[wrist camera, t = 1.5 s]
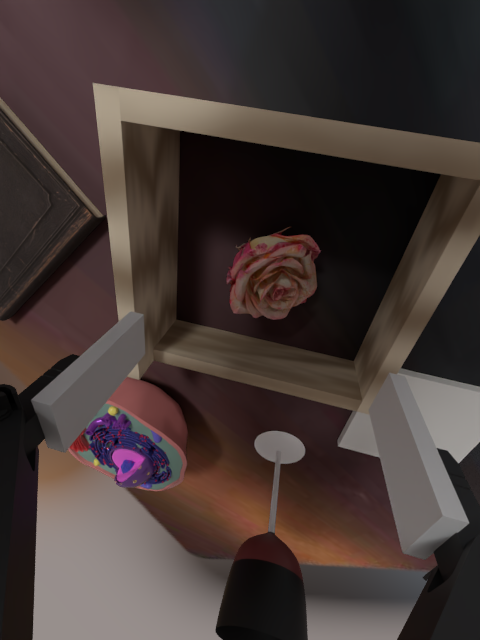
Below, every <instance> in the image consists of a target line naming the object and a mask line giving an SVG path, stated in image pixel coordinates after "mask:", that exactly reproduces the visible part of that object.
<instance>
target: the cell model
mask: <svg viewBox="0 0 480 640" xmlns="http://www.w3.org/2000/svg"><path fill="white" fill-rule="evenodd" d="M187 438H188V429H187V424H186V421H185V418H184V415H183V412H182V410H181V407H180V405H179V404H178V403H177V401H175V400H174V399H173V398H172V397H170V396H169V395H168V394H167V393H165V392H164V391H163V390H162V389H160V388H159V387H157V386H156V385H154V384H151V383H149V382H146V381H143V380H137V379H133V378H129V377H126V378H125V379H124V381H123V382H122V383H121V384H120V386H119V387H118V388H117V389H116V391H115V392H114V393H113V394H112V395H111V397H110V398H109V399H108V400H107V402H106V403H105V404H104V405H103V407H102V408H101V409H100V410H99V411H98V413H97V414H96V415H95V416H94V418H93V419H92V420H91V421H90V423H89V424H88V425H87V426H86V428H85V429H84V430H83V431H82V432H81V434H80V435H79V436H78V437H77V439H76V440H75V441H74V442H73V444H72V445H71V446H70V447H69V448H68V450H69V452H70V453H71V454H72V455H73V456H74V457H75V458H76V459H77V460H79V461H80V462H81V463H83V464H85V465H87V466H89V467H91V468H93V469H96V470H97V471H99V472H101V473H103V474H105V475H107V476H110V477H111V478H113V479H114V481H115V482H116V484H117V485H118V486H120V487H125V488H129V487H135V488H139V489H143V490H149V491H164V490H167V489H170V488H172V487H174V486H176V485H178V484H180V483H181V482H182V481H183V479H184V472H185V469H186V467H187V454H186V449H187Z"/></svg>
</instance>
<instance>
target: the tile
mask: <svg viewBox="0 0 480 640" xmlns="http://www.w3.org/2000/svg"><path fill="white" fill-rule="evenodd" d="M397 375H401V376H405V378H406V380H407V382H408V384H409V387H410V389H411V391H412V393H413V396H414V398H415V400H416V403H417V405H418V407H419V409H420V412H421V414H422V416H423V419H424V421H425V423H426V425H427V428H428V430H429V432H430V434H431V437H432V439H433V441H434V444H435V446H436V448H439V449H443V450H447V451H448V452H449V453H450V454H451V455H452V456H453V458H454V459H455V460H456V461H457V462H458V463H459V462H460V461H461V460H462V459H463V458H464V457H465V456H466V455H467V454H468V453H469V452H470V451H471V450H472V449H473V448H474V447H475V446H476V445H477V444H478V443H479V442H480V387H478V386H474V385H470V384H466V383H461V382H457V381H453V380H448V379H444V378H440V377H436V376H431V375H427V374H423V373H418V372H414V371H410V370H406V369H401V368H400V370H399V372H398V373H397ZM337 441H338V447H342V448H346V449H349V450H353V451H357V452H361V453H365V454H368V455H372V456H376V457H380V456H379V452H378V448H377V444H376V439H375V435H374V431H373V427H372V423H371V418H370V415H369V414H365V413H361V412H357V411H353V412H352V413H351V415H350V417H349V419H348V421H347V423H346V425H345V427H344V429H343V430H342V432H341V434H340V436H339V438H338V440H337Z"/></svg>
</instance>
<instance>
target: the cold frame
mask: <svg viewBox="0 0 480 640" xmlns="http://www.w3.org/2000/svg"><path fill="white" fill-rule="evenodd" d="M93 89H94V98H95V107H96V117H97V126H98V135H99V144H100V153H101V162H102V172H103V181H104V190H105V199H106V208H107V218H108V227H109V236H110V245H111V254H112V263H113V273H114V282H115V291H116V300H117V309H118V319H119V321H120V320H121V319H122V318H124V317H125V316H126V315H127V314H128V313H129V312H130V311H131V312H136V313H140V314H144V334H145V355H144V356H143V357H142V358H141V360H140V361H139V362H138V363H137V365H136V366H135V367H134V368H133V370H132V371H131V372H130V373H129V374H128V376H127V377H129V378H133V379H137V380H140V379H141V377H142V376H143V374H144V373H145V372H146V370H147V369H148V368H149V366H150V365H151V363H152V362H153V361H158V362H162V363H166V364H170V365H174V366H178V367H182V368H186V369H190V370H194V371H198V372H202V373H206V374H210V375H214V376H218V377H221V378H225V379H229V380H233V381H237V382H241V383H245V384H249V385H253V386H257V387H261V388H265V389H269V390H273V391H277V392H281V393H285V394H289V395H293V396H297V397H301V398H305V399H309V400H313V401H317V402H321V403H325V404H329V405H333V406H337V407H341V408H345V409H349V410H353V411H357V412H361V413H365V414H369V408H370V406H371V404H372V403H373V401H374V399H375V397H376V396H377V394H378V392H379V390H380V388H381V387H382V385H383V383H384V381H385V379H386V378H387V376H388V374H389V373H393V374H397V373H398V372H399V370H400V368H401V367H402V365H403V363H404V361H405V360H406V358H407V356H408V355H409V353H410V351H411V350H412V348H413V346H414V345H415V343H416V341H417V340H418V338H419V336H420V335H421V333H422V331H423V330H424V328H425V326H426V324H427V323H428V321H429V319H430V318H431V316H432V314H433V313H434V311H435V309H436V308H437V306H438V304H439V303H440V301H441V299H442V298H443V296H444V294H445V292H446V291H447V289H448V287H449V286H450V284H451V282H452V281H453V279H454V277H455V276H456V274H457V272H458V271H459V269H460V267H461V266H462V264H463V262H464V261H465V259H466V257H467V255H468V254H469V252H470V250H471V249H472V247H473V245H474V244H475V242H476V240H477V239H478V237H479V235H480V143H477V142H470V141H464V140H457V139H451V138H444V137H438V136H431V135H425V134H419V133H412V132H406V131H399V130H393V129H386V128H380V127H373V126H367V125H360V124H354V123H347V122H341V121H335V120H328V119H322V118H315V117H309V116H302V115H296V114H289V113H283V112H276V111H270V110H264V109H257V108H251V107H244V106H238V105H231V104H225V103H218V102H212V101H205V100H199V99H192V98H186V97H180V96H173V95H167V94H160V93H154V92H147V91H141V90H134V89H128V88H121V87H115V86H108V85H102V84H96V83H93ZM180 131H186V132H192V133H198V134H204V135H210V136H216V137H222V138H228V139H234V140H240V141H246V142H252V143H258V144H264V145H270V146H276V147H282V148H288V149H294V150H300V151H306V152H312V153H318V154H324V155H330V156H336V157H342V158H348V159H354V160H360V161H366V162H372V163H378V164H384V165H390V166H396V167H402V168H408V169H414V170H420V171H426V172H432V173H438V174H441V176H440V178H439V180H438V182H437V184H436V186H435V188H434V191H433V193H432V195H431V197H430V199H429V201H428V203H427V205H426V208H425V210H424V212H423V214H422V216H421V218H420V220H419V223H418V225H417V227H416V229H415V231H414V233H413V235H412V238H411V240H410V242H409V244H408V246H407V248H406V250H405V253H404V255H403V257H402V259H401V261H400V263H399V265H398V268H397V270H396V272H395V274H394V276H393V278H392V280H391V283H390V285H389V287H388V289H387V291H386V293H385V295H384V298H383V300H382V302H381V304H380V306H379V308H378V310H377V313H376V315H375V317H374V319H373V321H372V323H371V325H370V328H369V330H368V332H367V334H366V336H365V338H364V340H363V343H362V345H361V347H360V349H359V351H358V353H357V355H356V357H355V360H354V361H351V360H347V359H342V358H338V357H334V356H330V355H325V354H321V353H317V352H313V351H308V350H304V349H300V348H296V347H291V346H287V345H283V344H279V343H274V342H270V341H266V340H262V339H257V338H253V337H249V336H245V335H240V334H236V333H232V332H228V331H223V330H219V329H215V328H210V327H206V326H202V325H198V324H193V323H189V322H185V321H181V320H176V308H177V261H178V215H179V168H180ZM369 415H370V414H369Z"/></svg>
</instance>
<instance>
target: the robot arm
mask: <svg viewBox="0 0 480 640" xmlns="http://www.w3.org/2000/svg"><path fill="white" fill-rule="evenodd" d="M144 355H145V334H144V314H140V313H136V312H131V311H130V312H129V313H128V314H127V315H126V316H125V317H124V318H122V319H121V320H120V321H119V322H118V323H117V324H116V325H115V326H113V327H112V328H111V329H110V330H109V331H108V332H107V333H106V334H105V335H103V336H102V337H101V338H100V339H99V340H98V341H97V342H96V343H94V344H93V345H92V346H91V347H90V348H89V349H88V350H87V351H85V352H84V353H83V354H82V355H81V356H77V355H74V354H72V355H70V356H68V357H66V358H63V359H61V360H60V361H59V362H57V363H56V364H55V365H54V366H53V367H51V369H49V370H48V371H47V372H45V373H44V375H43V376H41V377H39V378H38V379H37V380H36V381H35V382H33V383H32V384H31V385H30V386H29V387H27V388H26V389H25V390H24V391H23V392H21V393H20V394H19V395H18V394H17V392H16V389H15V388H14V387H12V386H10V385H5V384H2V385H0V640H32V638H33V609H34V578H35V577H34V576H35V550H36V521H37V491H38V490H37V489H38V462H39V450H38V445H39V444H40V443H41V442H42V441H43V440H44V439H45V441H46V444H47V447H48V448H51V449H55V450H58V451H61V452H66V451H67V450H68V448H69V447H70V446H71V445H72V444H73V442H74V441H75V440H76V439H77V437H78V436H79V435H80V434H81V432H82V431H83V430H84V429H85V428H86V426H87V425H88V424H89V423H90V421H91V420H92V419H93V418H94V416H95V415H96V414H97V413H98V411H99V410H100V409H101V408H102V407H103V405H104V404H105V403H106V402H107V400H108V399H109V398H110V397H111V395H112V394H113V393H114V392H115V391H116V389H117V388H118V387H119V386H120V384H121V383H122V382H123V381H124V379H125V378H126V377H127V376H128V374H129V373H130V372H131V371H132V370H133V368H134V367H135V366H136V365H137V363H138V362H139V361H140V360H141V358H142V357H143V356H144ZM369 414H370V418H371V423H372V427H373V431H374V435H375V439H376V444H377V448H378V452H379V456H380V460H381V464H382V469H383V473H384V477H385V481H386V485H387V490H388V494H389V498H390V502H391V506H392V510H393V515H394V519H395V523H396V527H397V531H398V536H399V540H400V544H401V548H402V552H403V553H404V554H408V555H411V556H414V557H418V558H421V559H424V560H425V559H427V558H428V557H429V556H430V555H431V554H433V553H434V554H435V558H436V561H437V564H438V566H436V567H435V568H434V569H432V570H431V571H430V572H428V573H427V574H426V575H425V576H424V577H423V578H424V579H425V580H427V579H428V581H427V583H426V585H425V587H424V589H423V590H422V593H421V594H420V596H419V598H418V600H417V602H416V604H415V606H414V608H413V610H412V612H411V614H410V616H409V618H408V620H407V622H406V623H405V626H404V627H403V629H402V631H401V633H400V635H399V637H398V639H397V640H480V506H479V504H478V502H477V500H476V498H475V496H474V494H473V492H472V491H471V490H470V489H471V488H470V486H469V484H468V482H467V480H465V476H464V474H463V472H462V470H461V468H460V465H459V464H458V462H457V461H456V460H455V459H454V458H453V456H452V455H451V454H450V453H449V452H448V451H447V450H443V449H439V448H436V446H435V444H434V441H433V439H432V437H431V434H430V432H429V430H428V428H427V425H426V423H425V421H424V419H423V416H422V414H421V412H420V409H419V407H418V405H417V403H416V400H415V398H414V396H413V393H412V391H411V389H410V387H409V384H408V382H407V380H406V378H405V376H401V375H397V374H393V373H389V374H388V376H387V378H386V379H385V381H384V383H383V385H382V387H381V388H380V390H379V392H378V394H377V396H376V397H375V399H374V401H373V403H372V404H371V406H370V408H369Z"/></svg>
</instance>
